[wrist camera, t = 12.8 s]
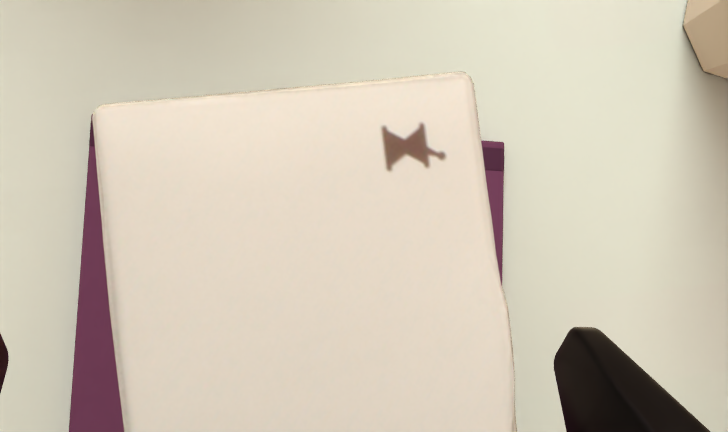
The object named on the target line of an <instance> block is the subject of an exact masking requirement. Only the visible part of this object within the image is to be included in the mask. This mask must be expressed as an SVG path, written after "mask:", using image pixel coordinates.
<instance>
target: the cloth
mask: <svg viewBox="0 0 728 432" xmlns="http://www.w3.org/2000/svg"><path fill="white" fill-rule="evenodd" d="M92 117H93V114H92ZM92 117H91V129H90V142H89V159H88V173H87V187H86V201H85V215H84V229H83V243H82V256H81V270H80V284H79V298H78V312H77V326H76V340H75V354H74V368H73V382H72V396H71V410H70V424H69V432H124V425H123V417H122V408H121V400H120V392H119V384H118V376H117V368H116V360H115V351H114V343H113V335H112V327H111V318H110V310H109V299H108V288H107V277H106V267H105V256H104V245H103V233H102V219H101V209H100V198H99V187H98V176H97V164H96V153H95V141H94V131H93V121H92ZM481 144H482V151H483V159H484V167H485V175H486V183H487V190H488V197H489V204H490V210H491V216H492V224H493V233H494V241H495V249H496V257H497V262H498V268H499V274H500V281H501V286H502V245H503V176H504V143H503V142H492V141H481Z"/></svg>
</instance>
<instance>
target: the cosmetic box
mask: <svg viewBox="0 0 728 432" xmlns="http://www.w3.org/2000/svg"><path fill="white" fill-rule="evenodd" d="M92 121H93V131H94V141H95V153H96V164H97V176H98V187H99V198H100V209H101V219H102V233H103V245H104V256H105V267H106V277H107V288H108V299H109V310H110V318H111V327H112V335H113V343H114V351H115V360H116V368H117V376H118V384H119V392H120V400H121V408H122V417H123V425H124V432H517V428H516V420H515V400H514V392H515V378H514V362H513V349H512V340H511V330H510V322H509V314H508V308H507V303H506V299H505V295H504V292H503V289H502V286H501V281H500V274H499V268H498V262H497V257H496V249H495V241H494V233H493V224H492V216H491V210H490V204H489V197H488V190H487V183H486V175H485V167H484V159H483V151H482V144H481V136H480V128H479V121H478V113H477V106H476V98H475V91H474V83H473V81H472V79H471V77H470V76H469V75H468V74H466V73H465V72H451V73H442V74H432V75H422V76H412V77H402V78H392V79H382V80H371V81H360V82H349V83H339V84H328V85H317V86H306V87H295V88H284V89H273V90H262V91H250V92H239V93H228V94H217V95H205V96H194V97H182V98H170V99H158V100H146V101H135V102H123V103H113V104H105V105H100V106H98V108H97V109H96V110H95V111H94V113H93V117H92Z"/></svg>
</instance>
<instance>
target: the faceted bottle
mask: <svg viewBox="0 0 728 432" xmlns="http://www.w3.org/2000/svg"><path fill="white" fill-rule="evenodd" d="M683 26H684V29H685V31H686V33H687V35H688V38H689V40H690V42H691V44H692V46H693V49H694V51H695V53H696V55H697V58H698V60H699V62H700V64H701V67H702V69H703V71H705V72H708V73H711V74H714V75H717V76H720V77H723V78H726V79H728V0H688V2H687V8H686V13H685V18H684V24H683Z"/></svg>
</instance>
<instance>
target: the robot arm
mask: <svg viewBox="0 0 728 432" xmlns="http://www.w3.org/2000/svg"><path fill="white" fill-rule="evenodd" d="M7 366H8V351H7V348H6V346H5V343H4V341H3V339H2V336H1V334H0V393H1V389H2V385H3V382H4V378H5V374H6V370H7ZM554 371H555V376H556V381H557V386H558V391H559V396H560V401H561V406H562V411H563V415H564V420H565V425H566V430H567V432H710V431H709V430H708V429H707V428H706V427H705V426H704V425H703V424H702V423H700V422H699V421H698V420H697V419H696V418H695V417H694V416H693V415H692V414H691V413H690V412H688V411H687V410H686V409H685V408H684V407H683V406H682V405H681V404H680V403H679V402H678V401H677V400H675V399H674V398H673V397H672V396H671V395H670V394H669V393H668V392H667V391H666V390H665V389H663V388H662V387H661V386H660V385H659V384H658V383H657V382H656V381H655V380H654V379H653V378H651V377H650V376H649V375H648V374H647V373H646V372H645V371H644V370H643V369H642V368H641V367H639V366H638V365H637V364H636V363H635V362H634V361H633V360H632V359H631V358H630V357H629V356H627V355H626V354H625V353H624V352H623V351H622V350H621V349H620V348H619V347H618V346H617V345H616V344H614V343H613V342H612V341H611V340H610V339H609V338H608V337H607V336H606V335H605V334H604V333H602V332H601V331H600V330H598V329H596V328H592V327H574V328H573V329H571V330H570V331H569V332H568V334H567V336H566V338H565V339H564V341H563V343H562V345H561V346H560V348H559V350H558V352H557V353H556V355H555V359H554Z"/></svg>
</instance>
